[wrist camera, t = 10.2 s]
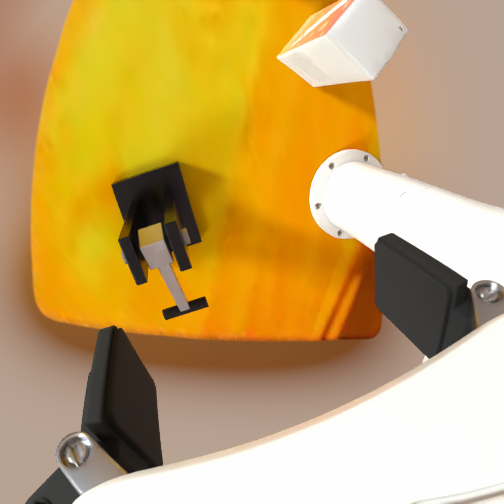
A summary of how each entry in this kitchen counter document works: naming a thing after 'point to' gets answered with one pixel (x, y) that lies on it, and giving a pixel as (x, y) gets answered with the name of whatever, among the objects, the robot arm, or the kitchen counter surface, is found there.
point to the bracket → (155, 215)
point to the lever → (166, 269)
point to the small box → (344, 43)
